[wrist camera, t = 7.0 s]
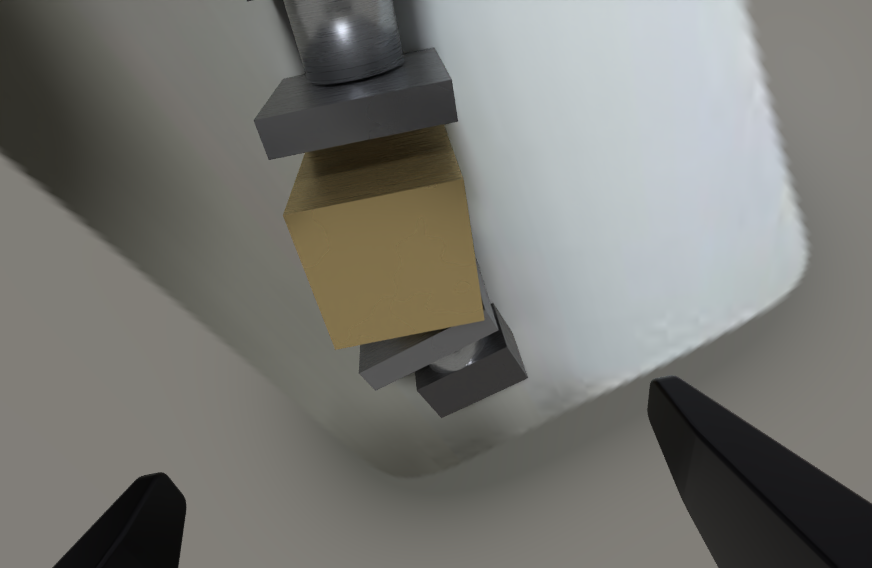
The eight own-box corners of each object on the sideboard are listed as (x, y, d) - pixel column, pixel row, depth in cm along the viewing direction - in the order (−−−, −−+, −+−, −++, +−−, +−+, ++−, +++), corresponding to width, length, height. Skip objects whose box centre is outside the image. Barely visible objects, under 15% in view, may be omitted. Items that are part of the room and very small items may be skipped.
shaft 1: (362, 297, 20) (359, 373, 17) (465, 241, 19) (485, 309, 16) (427, 374, 23) (437, 453, 20) (520, 329, 22) (548, 404, 19)
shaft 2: (225, -93, 13) (167, -106, 9) (405, -131, 13) (416, -160, 9) (293, 111, 16) (269, 159, 12) (440, 81, 16) (457, 121, 12)
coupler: (345, 254, 19) (335, 349, 15) (308, 142, 17) (282, 215, 12) (459, 231, 19) (484, 320, 15) (440, 115, 17) (463, 179, 12)
